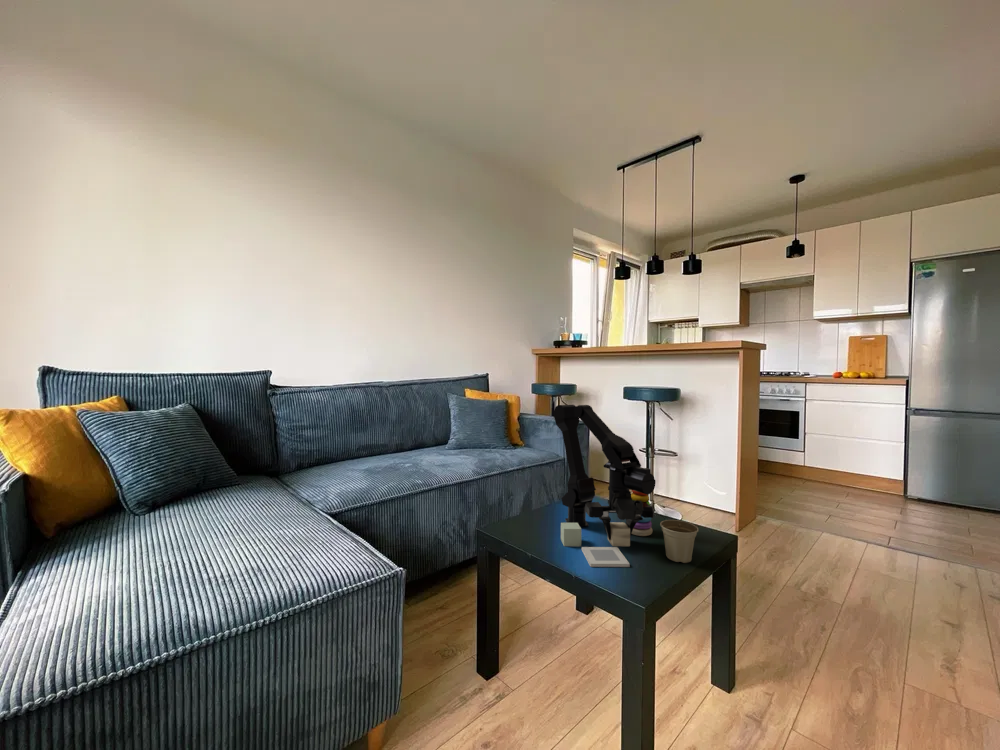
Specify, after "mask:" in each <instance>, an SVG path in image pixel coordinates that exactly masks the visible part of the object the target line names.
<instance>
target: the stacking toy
mask: <svg viewBox="0 0 1000 750" xmlns="http://www.w3.org/2000/svg"><path fill="white" fill-rule="evenodd" d="M631 498H632V500H635V501H642V502H646V503H647V504H649V505H650V506H651V503H650V496H649V494H644V493H641V492H637V491H634V490H631ZM641 517H642V518H643V519H642V520H639V521H638V522H637V523H636V524H635V526H634V528H633V531H632V533H631V535H634V536H639V537H647V536H650V535H652V534H653V531H654V530H653V528H652V524H653V523H652V518H644V517H643V516H642V515H641Z"/></svg>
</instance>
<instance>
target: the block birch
mask: <svg viewBox="0 0 1000 750" xmlns="http://www.w3.org/2000/svg"><path fill="white" fill-rule="evenodd" d="M610 529H611V539H610V540H609V539H608V536H607V541H608V542H609V544H610V545H611V547H630V546H631V536H630V528H629V527H628V526H627V525H626V522H624V521H623V522H622V521H621V522H619V521H618V522H613V521H612V522H611V521H610Z"/></svg>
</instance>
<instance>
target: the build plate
mask: <svg viewBox="0 0 1000 750" xmlns="http://www.w3.org/2000/svg"><path fill="white" fill-rule="evenodd" d="M581 551H582V553H583V556H584V557H585V559H586V561H587V563H588V565H589V566H590V568H598V567H599V568H630V567H631V566H630V565H631V563H630V562H629V561H628V560H627V558H626V557H625V555H624V554H623V553H622V552H621V550H620V549H619V547H618V546H581Z"/></svg>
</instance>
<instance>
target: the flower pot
mask: <svg viewBox="0 0 1000 750" xmlns="http://www.w3.org/2000/svg"><path fill="white" fill-rule="evenodd" d="M659 526H660V527H661V531H662V534H663V540H664V548H665V555H666V557H667V559H669V560H670V561H673V562H675V563H679V562H681V563H683V564H688V563H691V562H692V559H693V557H692V556H693V550H694V545H695V541H696V540H695V538H696V537H697V535H698V534H697V533H699V527H698V526H697V525H695V524H694V523H691V522H688V521H684V520H678V519H666V520H665V519H664V520H662V521H660V523H659Z"/></svg>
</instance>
